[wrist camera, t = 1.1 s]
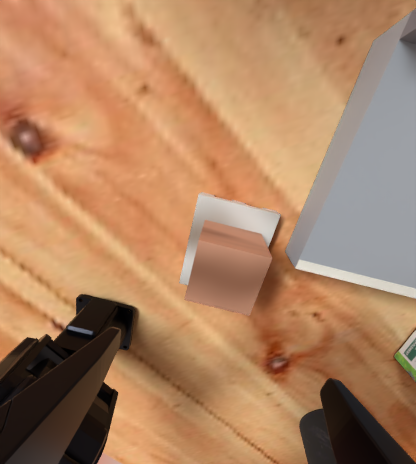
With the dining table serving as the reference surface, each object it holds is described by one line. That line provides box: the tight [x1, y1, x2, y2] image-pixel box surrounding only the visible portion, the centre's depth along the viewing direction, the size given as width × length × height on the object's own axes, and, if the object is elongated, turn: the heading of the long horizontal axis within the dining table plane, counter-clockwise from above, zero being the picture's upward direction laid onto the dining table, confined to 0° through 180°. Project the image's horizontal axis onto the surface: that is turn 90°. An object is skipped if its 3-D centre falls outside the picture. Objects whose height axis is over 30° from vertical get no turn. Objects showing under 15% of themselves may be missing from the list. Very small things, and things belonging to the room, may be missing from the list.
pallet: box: [179, 192, 281, 316], centre depth 17 cm, size 9×7×6 cm
